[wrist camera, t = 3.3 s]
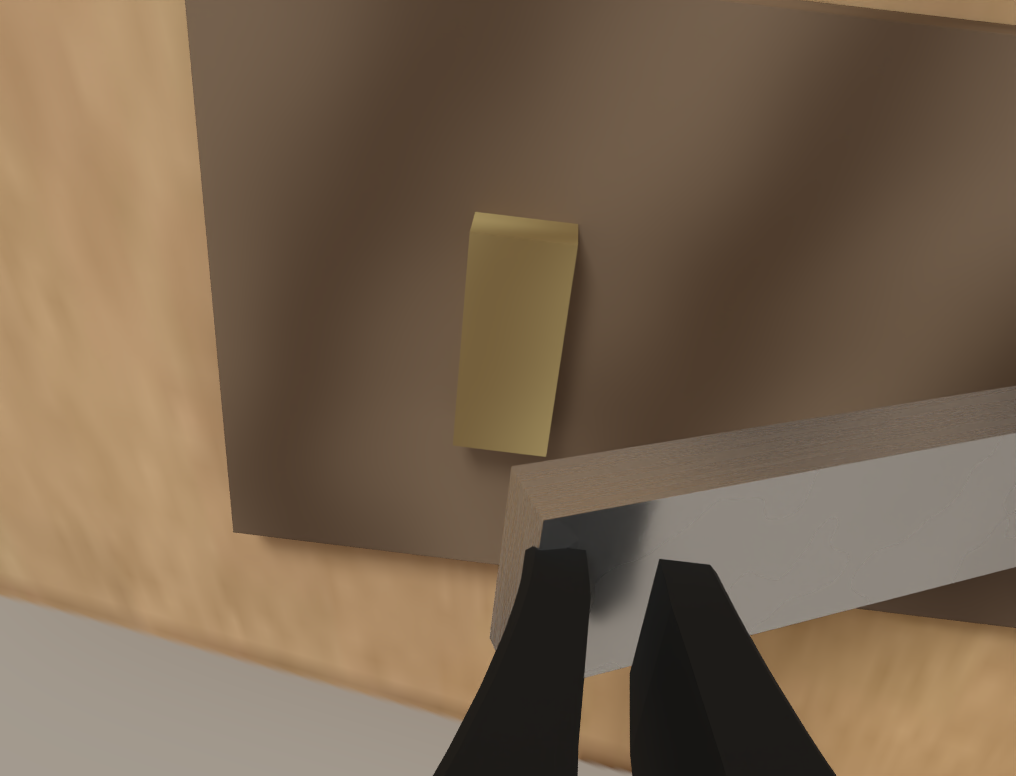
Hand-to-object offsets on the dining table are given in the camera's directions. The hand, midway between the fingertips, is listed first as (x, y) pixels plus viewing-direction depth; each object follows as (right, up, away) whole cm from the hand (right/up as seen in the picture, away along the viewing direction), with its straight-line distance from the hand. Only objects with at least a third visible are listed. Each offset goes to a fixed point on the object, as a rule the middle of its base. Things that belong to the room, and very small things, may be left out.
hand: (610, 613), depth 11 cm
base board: (+3, +4, +7) cm, 8 cm away
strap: (+4, +1, +3) cm, 5 cm away
